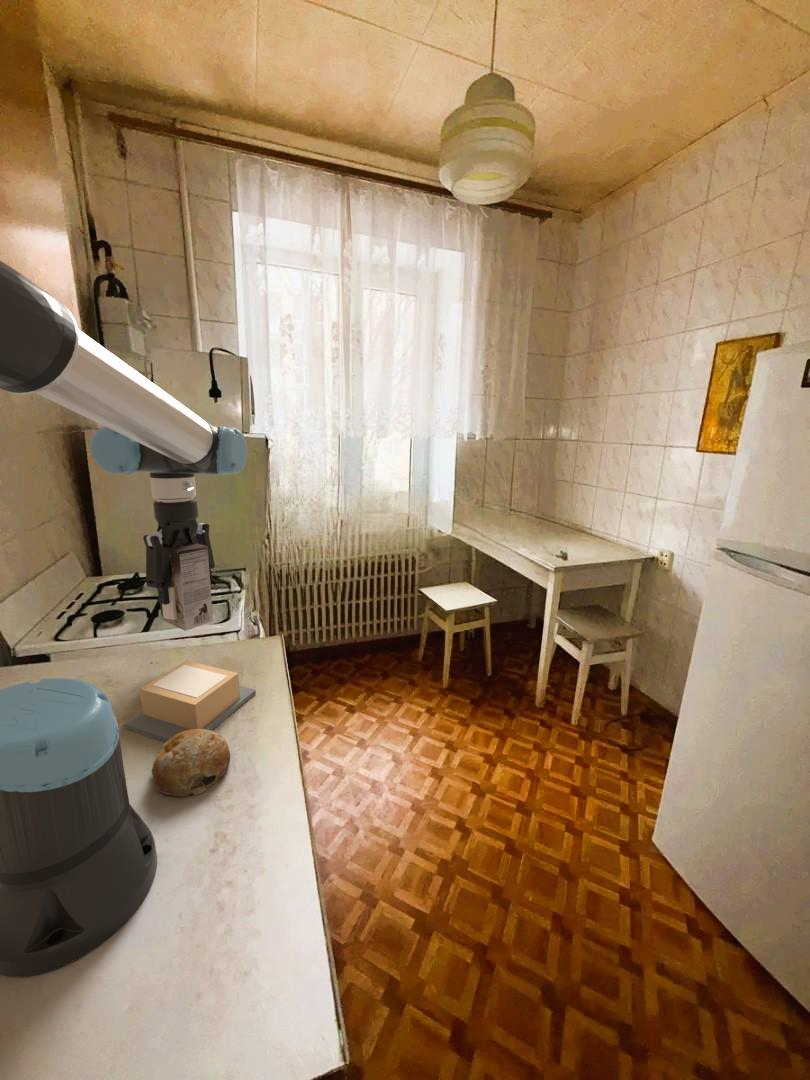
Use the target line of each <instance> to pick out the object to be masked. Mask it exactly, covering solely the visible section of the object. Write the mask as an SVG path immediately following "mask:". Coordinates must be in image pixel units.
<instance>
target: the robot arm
mask: <svg viewBox="0 0 810 1080" xmlns="http://www.w3.org/2000/svg"><path fill="white" fill-rule="evenodd" d="M0 390H3V391H5V392H8V393H11V394H17V395H32V394H36V395H39V396H41V397H44V398H45V399H47V400H49V401H52V402H53V403H55V404H58V405H60V406H62V407H64V408H66V409H68V410H70V411H72V412H74V413H76V414H79V415H81V416H82V417H85V418H87V419H88V420H91V421H93V422H95V423H97V424H99V425H101V426H102V427H100V428H98V429H97V430H96V431H95V432H94V434H92V437H91V440H90V450H91V455H92V458H93V460H94V461H95V463H96V464H97V465H98V467H100V468H101V469H102V470H103V471H105V472H108V473H109V474H115V475H121V474H122V475H132V474H134V473H149V476H150V489H151V497H152V498H153V499H155V500H154V501H153V514H154V519H155V520H156V522H157V529H156V532H154V533H152V534H145V535H143V539H142V540H143V543H144V546H145V549H146V552H145V558H146V559H145V567H146V568H145V584H146V587H148V588H153V589H157V597H158V603H159V605H160V604H162V609H163V618H167V619H172V620H175V619H177V612H176V602H175V593H174V587H171V586H170V582H171V577H172V568H171V558H170V556H169V555H168V554H167V552H166V551H165V550H164V547H166V546H168V547H172V548H170V549H176V548H180V546H182V545H187V544H190V543H191V544H196V543H198V544H201V545H205V546H207V547H208V560H209V573H210V575H211V574H212V570H214V568H215V567H216V566H215V560H214V553H213V550H212V543H211V539H210V524H209V523H204V522H197V518H199V510H198V509H199V507H198V501H197V500H196V499H195V497H196V496H197V489H196V478H195V477H196V475H198V474H199V475H218V476H222V475H237V474H240V473H241V472H242V471H243V470H244V469H245V466H246V465H247V458H248V447H247V441H246V438H245V436H244V434H243V433H242V431H240V430H239V429H238V428H235V427H229V426H227V427H226V426H223V425H222V426H214V425H212V424H211V423H208V422H207V421H205V419H203V418H202V417H200V416H199V415H198V414H196V413H195V412H194V411H192V410H191V409H189V408H188V407H186V406H185V405H184V404H183V403H181V402H180V401H179V400H177V399H175V398H174V397H173V396H172V395H170V394H168V393H167V392H166V391H164V390H163V389H162V388H160V387H159V386H158V385H156V384H155V383H153V382H152V381H151V380H149V379H148V378H146V377H145V376H144V375H143V374H142V373H140V372H139V371H137V370H136V369H135V368H134V367H132V366H130V365H128V363H126V362H125V361H123V360H122V359H120V358H119V357H118V356H116V355H115V354H114V353H112V352H110V351H109V349H106V348H105V347H104V346H103V345H101V344H100V343H98V342H97V341H95V340H94V339H93V338H91V337H90V336H89V335H88V334H86V333H85V332H83V331H82V330H81V329H79V328H78V324H77V322H76V319H75V317H74V316H73V314H72V312H71V311H70V310H69V309H68V308H67V306H65V305H64V304H63V303H61V302H60V301H59V300H58V299H57V298H55V297H54V296H53V295H52V294H50V293H49V292H47V291H46V290H45V289H43V288H41V286H39V285H38V284H36V283H35V282H34V281H32V280H31V279H30V278H28V277H27V276H26V275H24V274H22V273H21V272H19V271H18V270H16V269H15V268H13V267H12V266H11V265H8V264H7V263H6V262H4V261H2V260H1V259H0ZM120 740H121V739H120V727H119V725H118V719H117V717H116V716H115V714H114V711H113V707H112V703H111V701H110V698H109V697H108V694H106V693H105V692H104V690H103V689H101V688H100V687H98V686H97V685H95V684H94V683H91V682H89V681H85V680H82V679H77V678H76V679H75V678H69V677H68V678H67V677H55V678H54V677H50V678H41V679H40V680H39V681H37V682H33V683H31V682H30V681H25V682H21V683H17V684H13V685H10V686H8V687H4V688H1V689H0V974H1V975H4V976H8V977H20V978H22V977H31V976H32V977H33V976H36V975H42V974H45V973H47V972H51V971H54V970H57V969H59V968H62V967H64V966H66V965H69V964H70V963H73V962H74V961H76V960H78V959H80V958H82V957H83V956H86V955H87V954H89V952H91V951H93V950H95V949H96V948H97V947H99V946H100V945H101V944H103V943H104V942H105V941H107V940H108V939H109V938H110V937H112V935H114V934H115V933H116V932H117V931H118V930H119V929H120V928H122V926H123V925H124V924H125V923H126V922H127V921H128V920H129V919H130V918H131V917H132V916H133V914H134V913H135V912H136V911H137V910H138V908H139V907H140V906H141V904H142V903H143V901H144V900H145V898H146V896H147V894H148V893H149V891H150V889H151V887H152V884H153V882H154V879H155V876H156V873H157V868H158V854H157V846H156V842H155V838H154V835H153V832H152V831H151V829H150V828H149V826H148V825H147V824H146V823H145V821H144V820H143V819H142V818H141V816H140V815H139V814H138V812H137V811H136V810H135V809H134V808H133V806H132V805H131V804H130V799H129V794H128V787H127V786H128V785H127V781H126V780H127V779H126V773H125V767H124V761H123V755H122V748H121V747H122V746H121V741H120Z"/></svg>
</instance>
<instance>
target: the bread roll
mask: <svg viewBox="0 0 810 1080" xmlns="http://www.w3.org/2000/svg"><path fill="white" fill-rule="evenodd" d="M230 762H231V751H230V747H229V745H228V742H227V740H226V739H225V738H224V737H223V736H222V735H221V734H219V733H218V732H215V731H213V730H212V731H210V730H205V729H191V730H186V731H183V732H180V733H178V734H176V735H175V736H173V737H172V738H170V739H169V740H168V741H167V742H164V743H163V745H162V746H161V749H160V750H159V751H158V753H157V755H156V756H155V759H154V761H153V763H152V768H151V774H152V778H153V780H152V781H153V782H152V784H154V786H155V788H156V790H157V791H158V792H159V793H162V794H165V796H173V797H186V796H187V797H188V796H190V795H194V796H198V795H200V794H202V793H204V792H205V791H206V790H208V788H209V787H210V786H212V785H213V784H215V783H216V782H217V781H218V780H219V779H220V778H221V777H223V775H225V774H226V772H227V771H228V768H229V766H230Z"/></svg>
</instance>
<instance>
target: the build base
mask: <svg viewBox="0 0 810 1080" xmlns="http://www.w3.org/2000/svg"><path fill="white" fill-rule="evenodd" d="M256 694H257V692H256V689H254V688H251V687H247V686H242V685H240V678H239V672H236V671H235V672H234V671H232V670H231V671H230V670H227V669H223V668H219V667H215V666H212V665H211V666H210V665H208V664H203V663H199V662H195V661H190V660H185V661H183V662H181V663H180V664H178V665H176V666H174V667H173V668H172V669H170V670H169V671H167V672H164V674H162V675H160V676H158V677H157V678H155V679H153V680H151V681H150V682H148V683H147V684H145V685H143V686H141V687H140V688H139V695H140V700H141V706H142V707H141V708H142V711H140V712H139V713H137V714H135V715H134V716H133V717H131V718H130V719H128V720H126V721H125V722H123V723H122V725H123V729H126V730H128V731H131V732H134V733H138V734H141V735H143V736H147V737H150V738H151V739H152V738H153V739H155V740H158V741H162V742H164V743H165V742H167V741H168V740H169V739H170V738H172V737H173V736H175V735H176V734H178V733H180V732H183V731H186V730H191V729H205V730H210V731H213V730H214V729H215V728H217V727H218V726H219V725H220V724H222V723H223V722H224V721H225V720H226V719H227V718H228V717H230V716H231V715H232V714H233V713H235V712H236V711H237V710H238V709H239V708H241V707H242V706H243V705H244V704H245V703H246V702H248V701H249V700H250V699H251V698H253V697H254V696H255V695H256Z"/></svg>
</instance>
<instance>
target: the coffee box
mask: <svg viewBox="0 0 810 1080" xmlns="http://www.w3.org/2000/svg"><path fill="white" fill-rule="evenodd" d="M170 548H172V547H168V546H166V547H164V550H165V551H166V552H167V554H168V555H169V556H170V558H171V568H172V577H171V582H170V586H171V587H174V593H175V602H176V612H177V619H175V620H172V619H167V618H163V609H162V604H160V603H159V605H160V606H159V607H160V614H161V615H160V617H161V619H162V621H164V622H166V623H169V624H171V625H172V626H175V627H176V628H178V629H180V630H182V631H190V630H192V629H194V628H197V627H200V626H203V625H206V624H209V623H212V622H214V615H213V602H212V587H211V586H212V585H211V577H210V576H211V574H210V573H209V560H208V547H207V546H205V545H201V544H198V543H196V544H191V543H190V544H187V545H182V546H180V548H176V549H170Z"/></svg>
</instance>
